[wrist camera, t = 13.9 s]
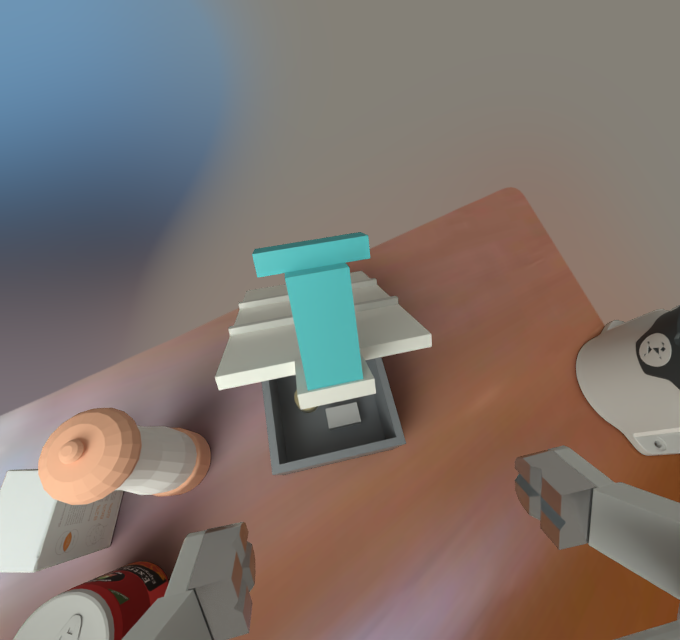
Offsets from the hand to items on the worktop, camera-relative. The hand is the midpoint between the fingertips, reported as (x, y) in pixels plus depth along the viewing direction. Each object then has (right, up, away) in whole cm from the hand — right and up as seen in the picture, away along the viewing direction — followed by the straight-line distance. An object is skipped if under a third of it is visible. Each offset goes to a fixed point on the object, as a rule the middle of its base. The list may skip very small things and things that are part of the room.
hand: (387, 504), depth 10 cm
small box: (-30, -17, +29) cm, 45 cm away
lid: (-4, +5, +21) cm, 22 cm away
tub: (-4, -3, +35) cm, 36 cm away
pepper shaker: (-21, -12, +31) cm, 39 cm away
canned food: (-23, -25, +25) cm, 42 cm away
